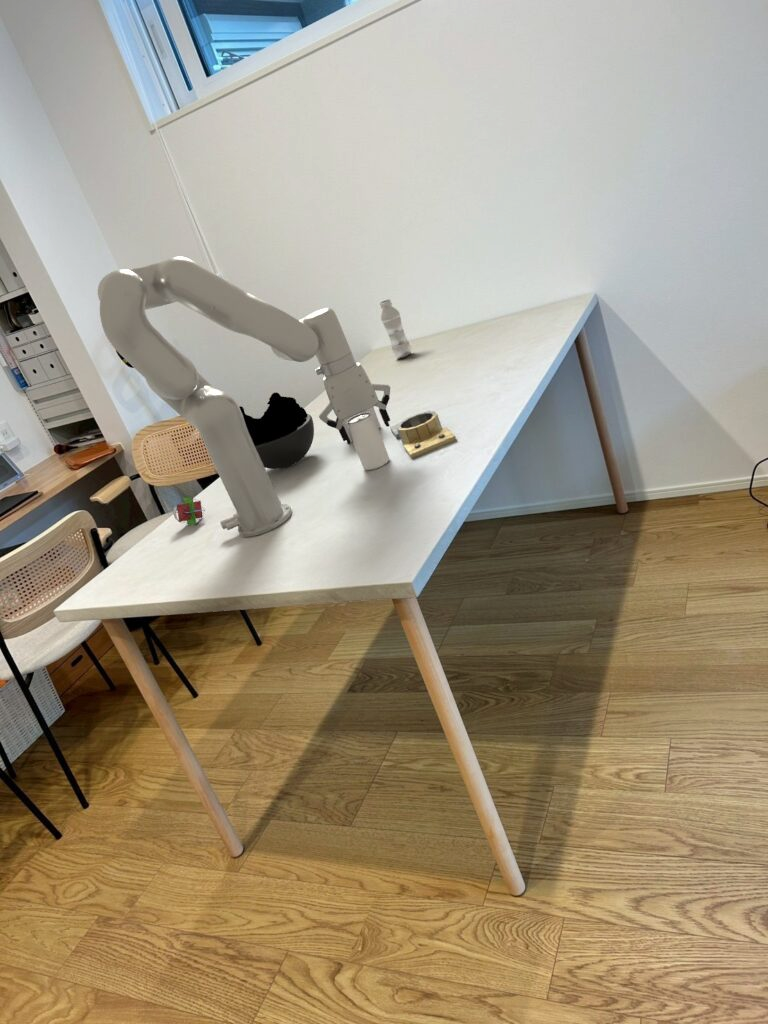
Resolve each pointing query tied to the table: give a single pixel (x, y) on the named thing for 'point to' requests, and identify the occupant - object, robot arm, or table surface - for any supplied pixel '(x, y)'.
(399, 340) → the plastic bottle
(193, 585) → the table surface
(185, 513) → the geometric puzzle
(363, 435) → the can
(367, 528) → the table surface
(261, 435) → the coal bowl
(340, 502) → the table surface
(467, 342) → the table surface
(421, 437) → the brass ring mounting bracket
